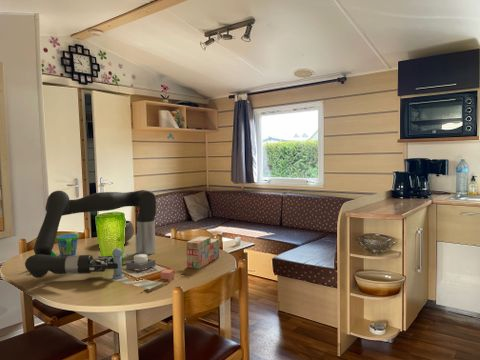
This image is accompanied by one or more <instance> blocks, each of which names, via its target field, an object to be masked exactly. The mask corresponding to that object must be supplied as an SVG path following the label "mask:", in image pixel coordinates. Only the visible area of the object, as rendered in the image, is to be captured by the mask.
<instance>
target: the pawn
mask: <svg viewBox="0 0 480 360" xmlns="http://www.w3.org/2000/svg"><path fill="white" fill-rule="evenodd" d="M111 253H112V255H111V256H113V259H114V263H118V268H117V269H113V274H112V277H113V279H121V278H123V277H124V275H125V273H123V264H122V263H123V249H122V248H120V247H116V248H114V249H113V250H112V252H111ZM123 279H124V278H123ZM121 280H122V279H121Z"/></svg>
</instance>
